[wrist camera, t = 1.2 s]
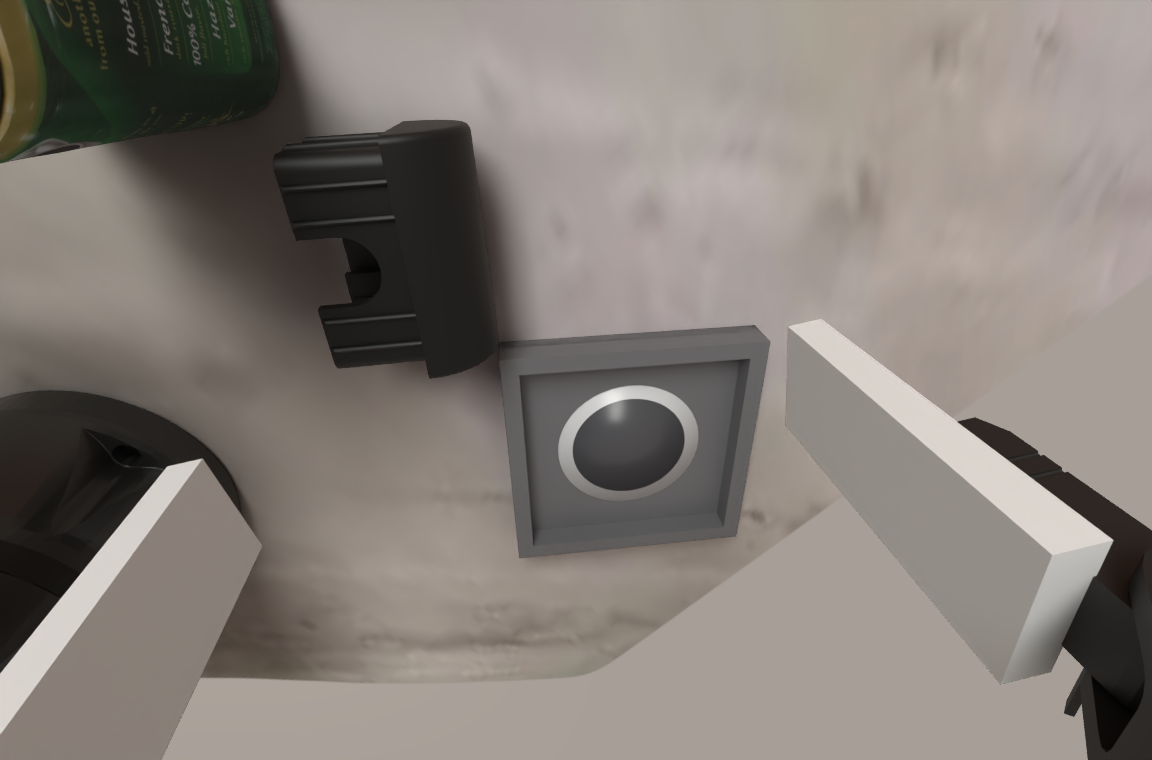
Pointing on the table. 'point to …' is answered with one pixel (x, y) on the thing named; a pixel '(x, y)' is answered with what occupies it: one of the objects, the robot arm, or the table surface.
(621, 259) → the table surface
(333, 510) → the table surface
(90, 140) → the coffee jar
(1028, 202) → the table surface
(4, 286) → the table surface
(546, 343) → the grey square tray
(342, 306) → the end cap
